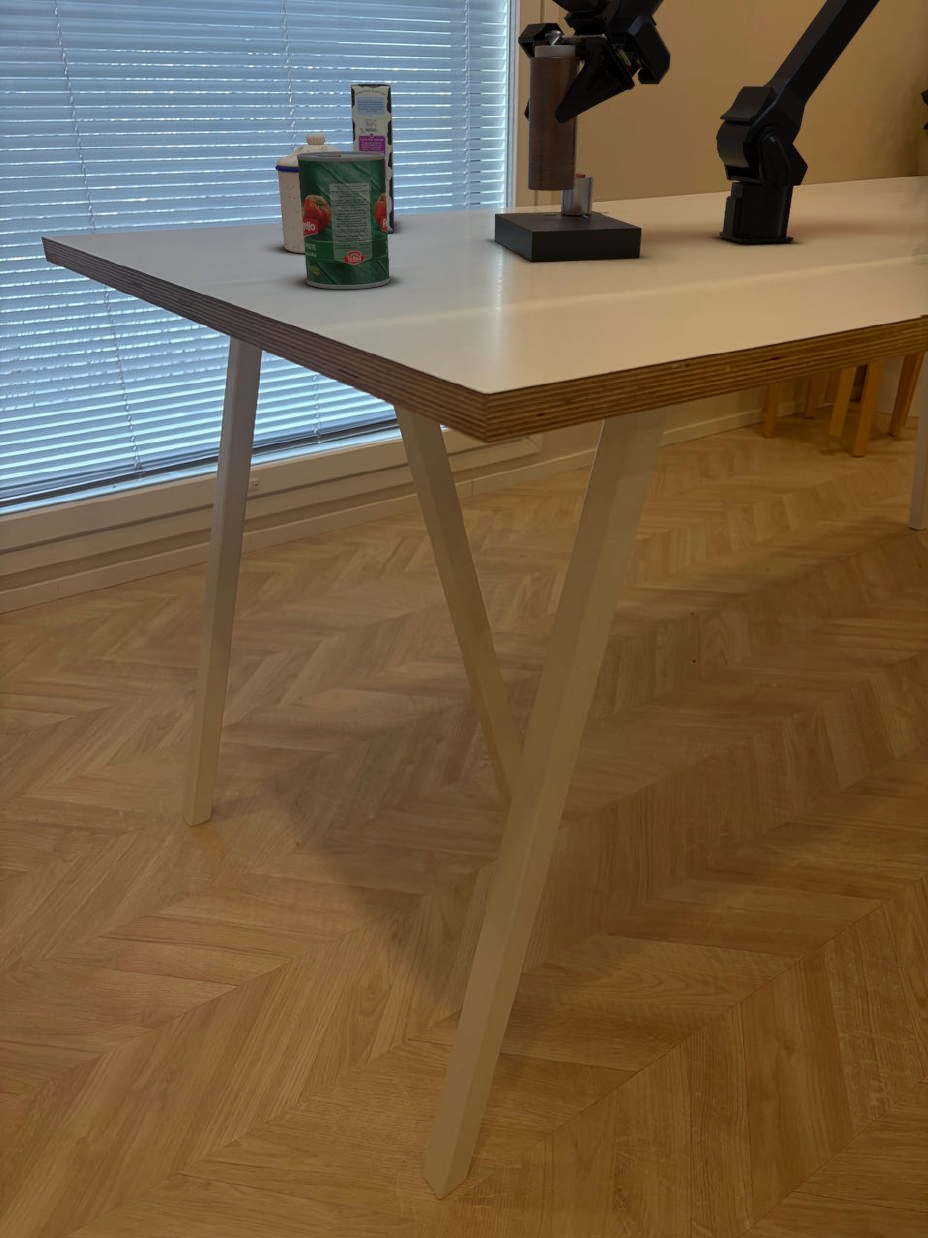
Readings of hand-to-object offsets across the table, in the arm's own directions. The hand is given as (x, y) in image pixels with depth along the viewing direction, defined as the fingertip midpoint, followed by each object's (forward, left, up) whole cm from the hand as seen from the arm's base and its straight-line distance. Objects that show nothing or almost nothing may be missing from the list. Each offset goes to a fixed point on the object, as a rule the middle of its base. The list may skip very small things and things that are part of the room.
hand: (542, 118), depth 101 cm
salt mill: (-1, 0, -7) cm, 7 cm away
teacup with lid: (+22, -12, -13) cm, 28 cm away
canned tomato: (+22, +11, -13) cm, 28 cm away
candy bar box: (+14, -27, -13) cm, 33 cm away
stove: (-4, -4, -13) cm, 15 cm away
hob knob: (-7, -9, -10) cm, 16 cm away
